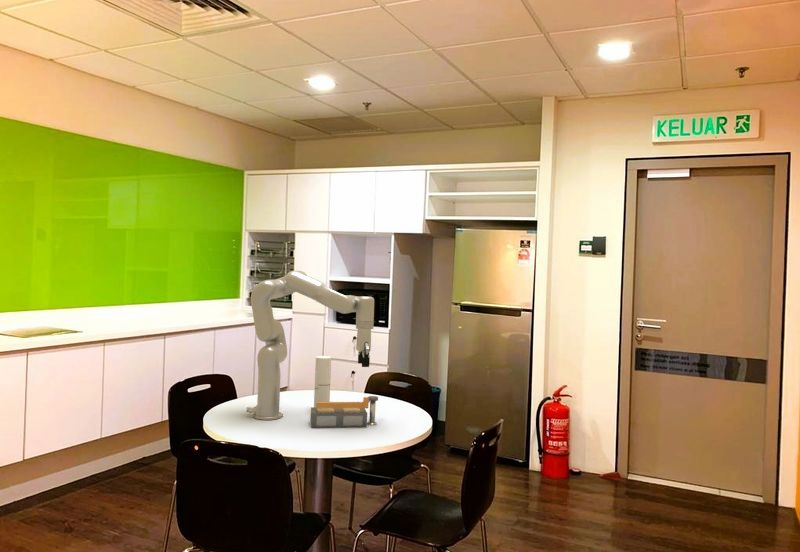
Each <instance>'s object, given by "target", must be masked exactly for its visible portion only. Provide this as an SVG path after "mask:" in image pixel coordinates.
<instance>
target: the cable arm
mask: <svg viewBox="0 0 800 552" xmlns="http://www.w3.org/2000/svg"><path fill="white" fill-rule="evenodd" d="M362 398H363V399H362V401H330V402H316V409H345V408H365V409H369V406H370V401H376V402H377V401H379V396H376V395H369V396H363V397H362Z"/></svg>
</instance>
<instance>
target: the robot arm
mask: <svg viewBox="0 0 800 552" xmlns="http://www.w3.org/2000/svg"><path fill="white" fill-rule="evenodd" d="M293 293H298V294H300V295H302V296H305V297H307V298H310V299H311V300H314V301H315V302H316V303H319V304H321V305H323V306H324V307H326V308H328V309H331V310H332V311H335V312H337V313H340V314H343V315H344V314H350V313H356V314H355V315H356V316H355V329H356V330H357V331H356V345H355V350H356V351H357V352H358V354H357V363H358V364H361V367H362V368H369V367H370V359H371V358H370V352H371V349H372V348H371V347H372V344H371V343H372V330H374V323H375V322H374V320H375V319H374V318H375V298H374V297H372V296H369V295H368V296H365V295H364V296H362V295H361V296H360V295H359V296H356V295H352V294H349V295H344V294H342V293H340V292H338V291H336V290H333V289H331V288H330V287H328V286H327V285H326V283H324V282H323V281H321V280H318V279H315V278H314V277H312V276H309V275H308V274H307V273H306V272H304V271H302V270H290V271H289V272H288V273H286V275H285V276H282V277H278V278H276V279H266V280H262V281H260V282H259V283H258V284H257V285H255V286H254V288H253V290H252V291H251V295H250V304H251V309H252V317H253V323H254V328H255V335H256V337H257V340H259V341H261V342H264V343H265V345H264V346H262V347H261V348H260V349H259V351H258V354H257V356H256V357H257V359H256V360H257V372H258V373H257V374H258V375H257V378H258V379H257V398H256V399H257V400H256V402H257V404H256V406H254V407H251V406H249V407H246V413H249V414H251V413H253V415H252V417H253V418H254V419H256V420H262V421H270V420H271V421H272V420H278V419H281V418H282V417H283V415H284V414H283V413H282V412H281V411H280V399H281V395H280V394H281V367H280V364H281V363H282V362H284V361H285V360H286V358H288V357H287V356H288V347H287V341H286V336H285V330H284V326H283V325H282V322H281V321H279V320H278V319H275V317H274V312H273V308H272V305H271V300H273V299H279V298H283V297H286V296H288V295H291V294H293Z"/></svg>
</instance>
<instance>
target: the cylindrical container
mask: <svg viewBox="0 0 800 552" xmlns="http://www.w3.org/2000/svg"><path fill="white" fill-rule="evenodd" d="M314 367H315V369H314V371H315V373H314V393H313V398H314V399H313V407H316V402H331V401H330V400H331V379H332V378H331V377H332V376H331V375H332V373H331V372H332V356H328V355H318V356H315V366H314Z"/></svg>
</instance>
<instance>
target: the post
mask: <svg viewBox="0 0 800 552" xmlns="http://www.w3.org/2000/svg"><path fill="white" fill-rule="evenodd" d="M376 402H377V401H370V403H369V417H368V419H369V420H368V421H367V426H376V425H377V424H378V423H377V422H376V405H377V403H376Z"/></svg>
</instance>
